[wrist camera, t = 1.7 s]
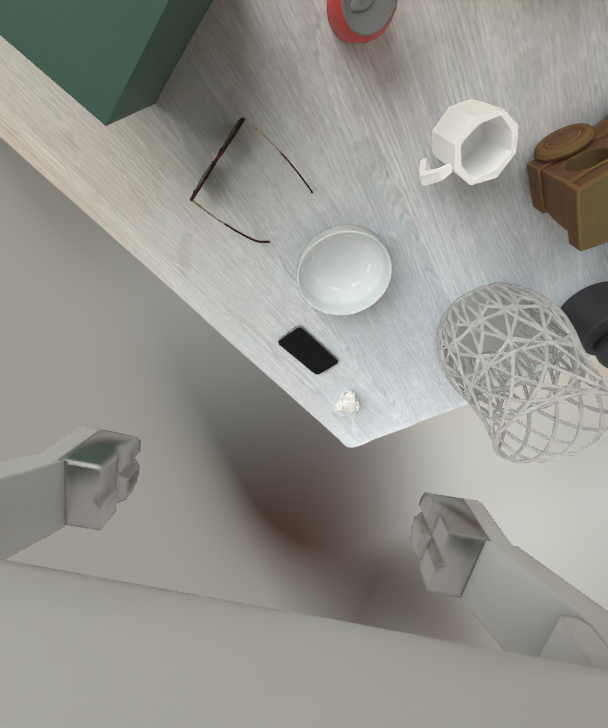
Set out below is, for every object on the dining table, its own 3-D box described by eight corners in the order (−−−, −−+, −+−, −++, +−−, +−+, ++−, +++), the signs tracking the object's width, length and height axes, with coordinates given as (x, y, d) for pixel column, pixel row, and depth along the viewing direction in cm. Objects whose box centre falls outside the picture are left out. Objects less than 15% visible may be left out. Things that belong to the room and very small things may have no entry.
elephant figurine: (362, 387, 90) (365, 404, 86) (353, 405, 95) (356, 422, 91) (338, 384, 89) (340, 401, 85) (330, 403, 94) (332, 420, 90)
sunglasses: (244, 108, 47) (243, 116, 44) (318, 182, 55) (321, 194, 52) (193, 189, 55) (188, 201, 51) (264, 244, 63) (265, 258, 59)
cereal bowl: (379, 202, 57) (388, 218, 52) (388, 285, 68) (396, 304, 63) (285, 230, 60) (284, 247, 55) (308, 304, 71) (310, 324, 66)
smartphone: (300, 325, 74) (339, 362, 82) (299, 323, 74) (339, 360, 82) (276, 342, 77) (316, 375, 85) (276, 340, 78) (316, 373, 86)
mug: (476, 84, 46) (509, 91, 39) (494, 141, 51) (527, 157, 44) (398, 146, 51) (415, 163, 44) (421, 193, 56) (440, 215, 49)
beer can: (318, -16, 39) (325, -32, 31) (371, -51, 38) (395, -78, 29) (336, 53, 44) (348, 57, 35) (385, 25, 42) (410, 20, 33)
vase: (497, 365, 86) (566, 474, 64) (410, 353, 82) (454, 464, 60) (567, 284, 69) (691, 393, 48) (463, 263, 65) (548, 372, 44)
